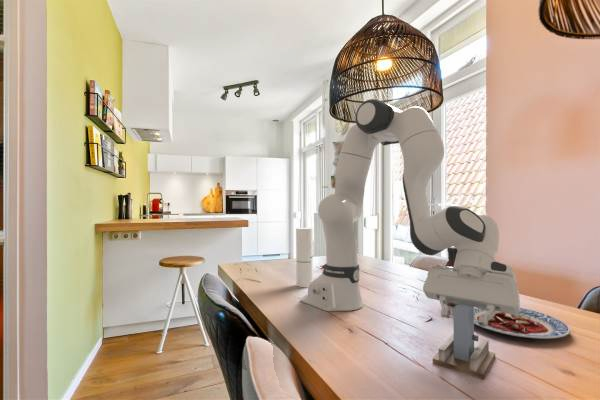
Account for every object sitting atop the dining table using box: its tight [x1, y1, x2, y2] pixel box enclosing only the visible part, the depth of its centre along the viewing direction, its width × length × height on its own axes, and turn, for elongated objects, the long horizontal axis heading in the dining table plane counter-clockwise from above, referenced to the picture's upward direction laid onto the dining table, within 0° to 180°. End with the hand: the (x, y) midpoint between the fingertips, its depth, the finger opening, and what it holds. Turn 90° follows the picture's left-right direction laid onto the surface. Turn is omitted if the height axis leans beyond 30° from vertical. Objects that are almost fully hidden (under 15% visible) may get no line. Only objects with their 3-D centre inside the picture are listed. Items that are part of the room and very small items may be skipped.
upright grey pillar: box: [452, 303, 479, 362], centre depth 71 cm, size 4×5×11 cm
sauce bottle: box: [444, 246, 458, 307], centre depth 111 cm, size 7×6×20 cm
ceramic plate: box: [474, 307, 571, 340], centre depth 91 cm, size 26×26×3 cm
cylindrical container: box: [295, 227, 314, 288], centre depth 137 cm, size 7×7×25 cm
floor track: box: [432, 332, 496, 380], centre depth 71 cm, size 10×12×4 cm
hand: (463, 320), depth 71 cm, fingers open, 6 cm apart
